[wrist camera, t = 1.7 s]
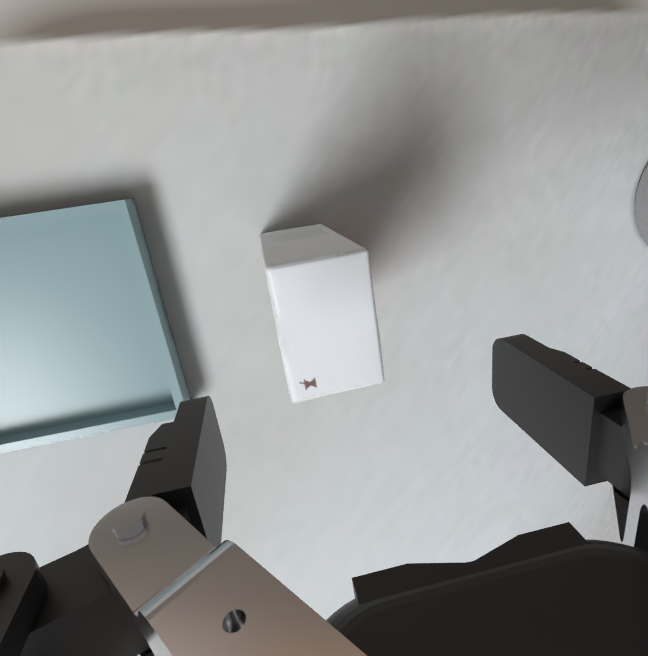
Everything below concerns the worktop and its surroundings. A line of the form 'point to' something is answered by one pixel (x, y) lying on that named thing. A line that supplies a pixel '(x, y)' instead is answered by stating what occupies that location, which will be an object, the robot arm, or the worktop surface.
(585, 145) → the worktop surface
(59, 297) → the tray
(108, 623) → the robot arm
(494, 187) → the worktop surface
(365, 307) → the skincare box
